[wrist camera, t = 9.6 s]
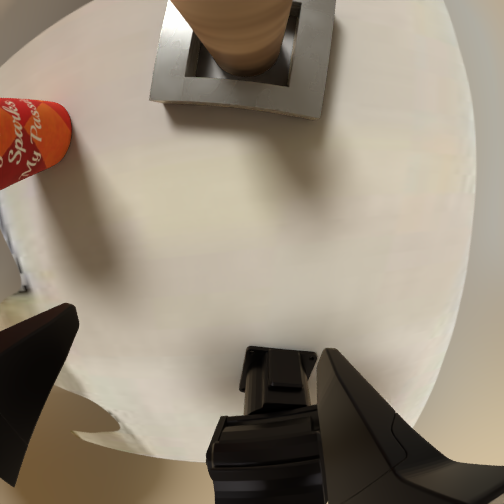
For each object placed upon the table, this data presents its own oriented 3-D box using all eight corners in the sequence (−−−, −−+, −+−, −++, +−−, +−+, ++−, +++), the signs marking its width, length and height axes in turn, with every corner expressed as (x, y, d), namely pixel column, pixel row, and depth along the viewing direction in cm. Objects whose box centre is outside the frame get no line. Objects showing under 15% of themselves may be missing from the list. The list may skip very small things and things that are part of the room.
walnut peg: (275, 81, 16) (297, 6, 5) (208, 74, 16) (131, 5, 5) (284, 23, 14) (310, -87, 3) (218, 17, 14) (167, -89, 3)
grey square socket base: (312, 120, 17) (320, 118, 14) (162, 103, 16) (147, 100, 14) (328, 6, 13) (337, -9, 11) (184, -7, 13) (174, -23, 10)
